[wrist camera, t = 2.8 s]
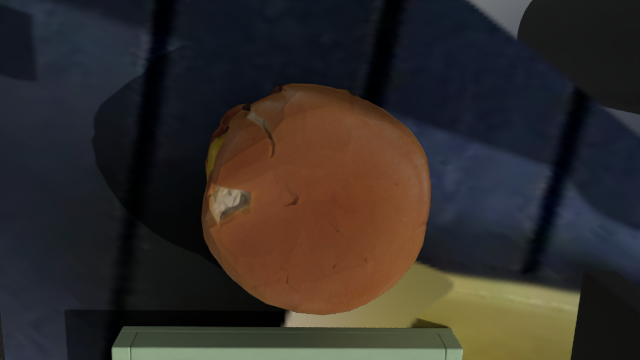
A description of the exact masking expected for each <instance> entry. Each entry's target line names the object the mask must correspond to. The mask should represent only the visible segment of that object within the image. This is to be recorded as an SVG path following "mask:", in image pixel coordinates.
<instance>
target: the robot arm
mask: <svg viewBox="0 0 640 360" xmlns="http://www.w3.org/2000/svg"><path fill="white" fill-rule="evenodd" d="M0 360H5V357H4V346H3V336H2V325H1V315H0ZM571 360H640V288H639V287H637V286H636V285H634V284H633V283H631V282H630V281H629V280H627V279H626V278H624V277H623V276H621V275H620V274H618V273H617V272H616V271H584V274H583V281H582V287H581V294H580V301H579V307H578V314H577V321H576V327H575V334H574V341H573V348H572V354H571Z"/></svg>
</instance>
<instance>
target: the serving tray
mask: <svg viewBox="0 0 640 360" xmlns="http://www.w3.org/2000/svg"><path fill="white" fill-rule="evenodd" d="M462 353H463V348H462V347H461V345H460V343H459V341H458V340H457V338H456V336H455V335H454V332H453V331H452V329H451V328H323V327H308V328H307V327H160V326H124V327H123V328H122V330H121V332H120V334H119V335H118V337H117V339H116V341H115V343H114V344H113V346H112V360H462Z"/></svg>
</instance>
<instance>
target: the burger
mask: <svg viewBox="0 0 640 360" xmlns="http://www.w3.org/2000/svg"><path fill="white" fill-rule="evenodd" d="M205 164H206V175H207V185H206V190H205V194H204V197H203V207H202V217H201V220H202V227H203V234H204V239H205V241H206V243H207V245H208V247H209V249H210V251H211V253H212V254H213V256H214V257H215V258H216V260H217V261H218V262H219V263H220V265H221V266H222V267H223V269H224V270H225V271H226V273H227V274H228V275H229V276H230V277H231V278H232V279H233V280H234V281H235V282H237V283H238V284H239V285H240V286H241V287H243V288H244V289H245V290H246V291H247V292H248V293H250V294H252V295H253V296H255V297H257V298H258V299H260V300H261V301H263V302H265V303H267V304H270V305H274V306H277V307H281V308H284V309H287V310H290V311H293V312H296V313H307V314H317V315H327V314H336V313H341V312H346V311H350V310H353V309H355V308H358V307H360V306H362V305H365V304H367V303H368V302H370V301H372V300H373V299H375V298H377V297H379V296H381V295H382V294H384V293H386V292H387V291H389V290H390V289H391V288H392V287H393V286H394V285H395V284H396V283H397V282H398V281H399V280H400V279H401V278H402V276H403V275H404V274H405V273H406V272H407V271H408V269H409V268H410V267H411V266H412V265H413V263H414V262H415V260H416V258H417V256H418V254H419V251H420V249H421V247H422V245H423V241H424V236H425V230H426V222H427V220H428V215H429V209H430V203H431V183H430V175H429V167H428V159H427V157H426V155H425V152H424V150H423V148H422V146H421V145H420V143H419V142H418V140H417V139H416V138H415V136H414V135H413V133H412V132H411V131H410V130H409V129H408V128H407V127H406V126H405V125H404V124H403V123H401V122H400V121H398V120H397V119H396V118H394V117H393V116H392V115H390V114H389V113H388V112H387V111H386V110H384V109H383V108H380V107H378V106H376V105H374V104H373V103H371V102H369V101H368V100H364V99H361V98H360V97H359V96H357V95H354V94H352V93H350V92H349V91H347V90H344V89H334V88H332V87H326V86H321V85H315V84H288V85H281V86H276V87H275V88H274V89H273V90H272V91H271V94H270V96H267V97H265V98H262V99H260V100H258V101H257V102H255V103H253V104H251V103H246V104H241V105H237V106H236V107H234V108H232V109H231V110H229V111H228V112H227V113H226V114H225V115H224V116H223V118H222V119H221V121H220V127H219V128H218V129H217V130H216V131H215V132H214V133H213V134H212V137H211V141H210V144H209V150H208V157H207V159H206V161H205Z"/></svg>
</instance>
